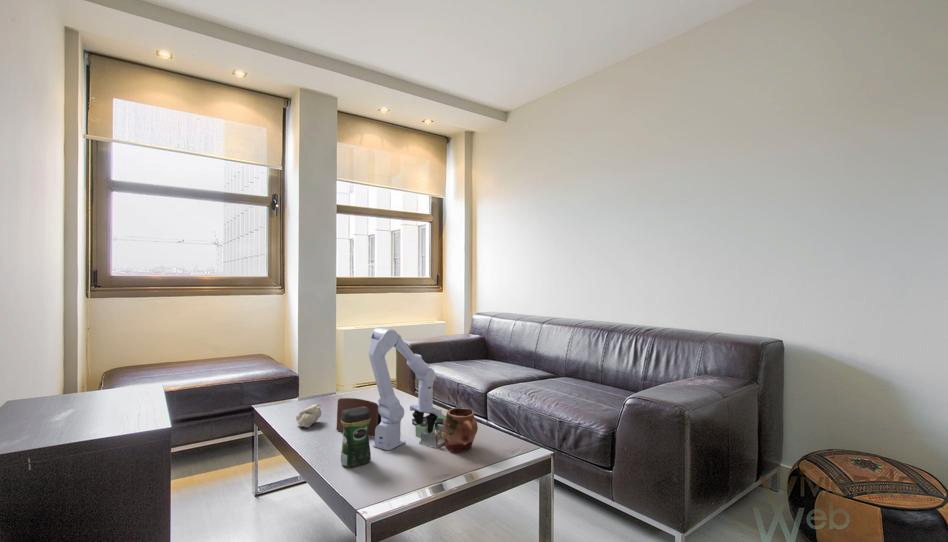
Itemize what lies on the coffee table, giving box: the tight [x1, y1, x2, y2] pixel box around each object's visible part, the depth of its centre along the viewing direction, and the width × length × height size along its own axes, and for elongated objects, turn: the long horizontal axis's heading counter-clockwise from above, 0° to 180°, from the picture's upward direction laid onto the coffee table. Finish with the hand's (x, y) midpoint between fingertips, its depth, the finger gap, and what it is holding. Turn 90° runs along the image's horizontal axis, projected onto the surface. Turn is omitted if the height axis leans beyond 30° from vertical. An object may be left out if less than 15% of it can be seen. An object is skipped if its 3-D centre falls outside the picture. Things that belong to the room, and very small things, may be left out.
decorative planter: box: [443, 407, 479, 454], centre depth 162 cm, size 20×12×14 cm, turn 31°
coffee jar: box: [340, 406, 372, 468], centre depth 150 cm, size 10×8×19 cm
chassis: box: [418, 424, 446, 449], centre depth 170 cm, size 12×8×4 cm, turn 149°
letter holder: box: [336, 397, 381, 438], centre depth 181 cm, size 10×20×14 cm, turn 69°
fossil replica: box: [295, 403, 322, 429], centre depth 187 cm, size 12×8×10 cm
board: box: [415, 421, 436, 438], centre depth 177 cm, size 7×4×5 cm, turn 150°
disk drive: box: [411, 414, 446, 429], centre depth 190 cm, size 10×3×15 cm
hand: (425, 430), depth 177 cm, fingers closed on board, 4 cm apart
